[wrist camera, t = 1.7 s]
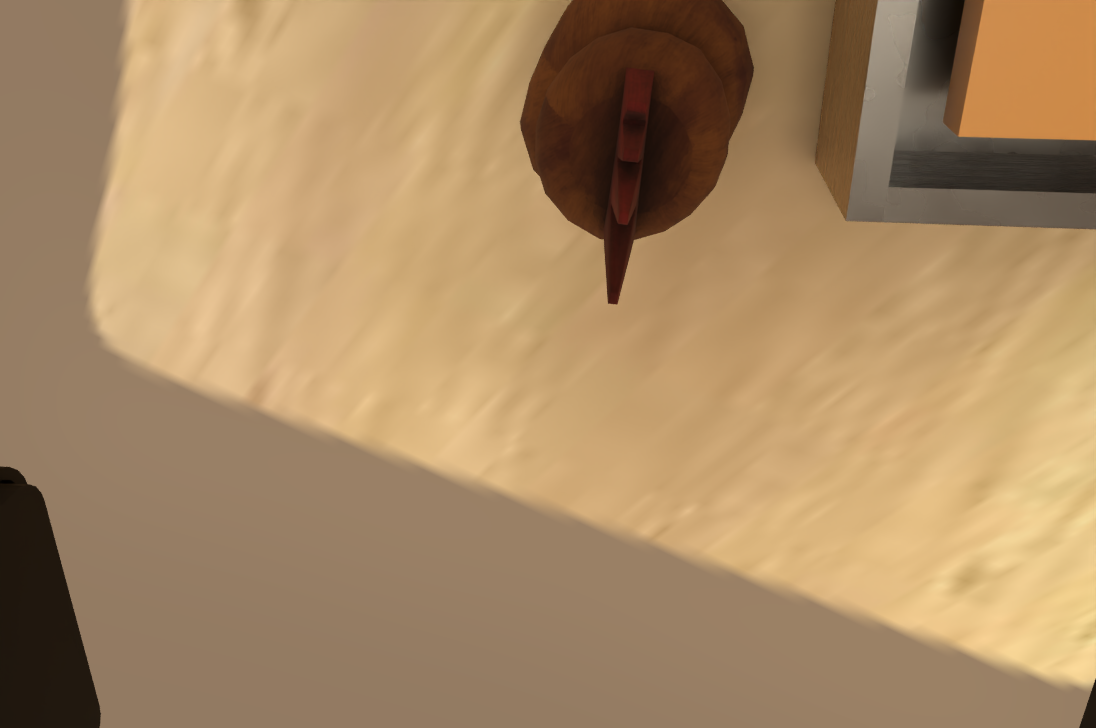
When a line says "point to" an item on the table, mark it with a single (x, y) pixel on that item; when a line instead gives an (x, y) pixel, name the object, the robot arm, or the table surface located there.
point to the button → (1024, 70)
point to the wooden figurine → (635, 115)
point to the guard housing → (931, 132)
